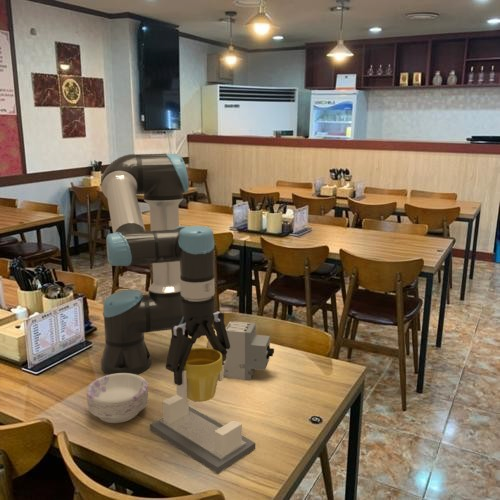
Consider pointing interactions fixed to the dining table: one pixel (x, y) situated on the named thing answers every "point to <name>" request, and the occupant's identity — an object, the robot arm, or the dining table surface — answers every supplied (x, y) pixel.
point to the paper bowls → (117, 397)
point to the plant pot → (202, 373)
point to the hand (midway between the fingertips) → (200, 387)
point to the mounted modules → (224, 436)
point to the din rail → (198, 433)
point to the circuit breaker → (245, 351)
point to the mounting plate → (198, 452)
